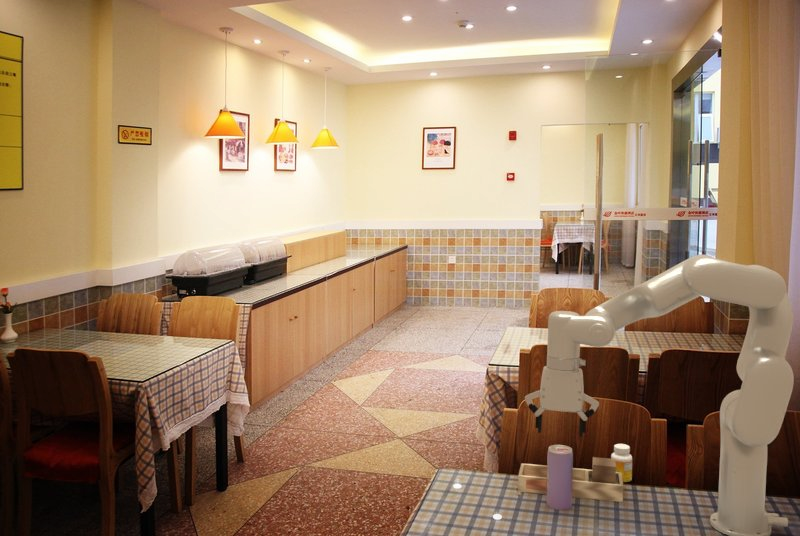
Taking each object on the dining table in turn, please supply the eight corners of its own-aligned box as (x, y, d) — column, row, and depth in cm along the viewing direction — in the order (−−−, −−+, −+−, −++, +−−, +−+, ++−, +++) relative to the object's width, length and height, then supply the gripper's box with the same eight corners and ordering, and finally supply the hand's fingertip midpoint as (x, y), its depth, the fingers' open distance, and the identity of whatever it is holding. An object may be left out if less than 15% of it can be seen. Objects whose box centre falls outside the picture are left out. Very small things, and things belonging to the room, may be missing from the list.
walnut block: (614, 489, 180) (615, 459, 180) (615, 498, 175) (616, 466, 174) (591, 487, 182) (592, 457, 181) (592, 495, 176) (592, 464, 176)
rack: (620, 491, 182) (621, 472, 181) (622, 506, 173) (623, 486, 172) (521, 481, 188) (521, 463, 188) (517, 495, 179) (518, 476, 179)
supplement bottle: (606, 479, 189) (606, 444, 188) (621, 476, 191) (622, 441, 190) (620, 487, 184) (621, 451, 183) (636, 483, 187) (637, 447, 186)
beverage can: (572, 515, 168) (573, 453, 167) (546, 512, 169) (547, 452, 168) (571, 504, 174) (572, 445, 172) (546, 502, 175) (547, 443, 174)
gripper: (600, 362, 169) (597, 431, 171) (527, 357, 174) (524, 425, 175) (601, 369, 162) (597, 442, 164) (524, 364, 167) (522, 434, 168)
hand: (560, 433), depth 170 cm, fingers open, 9 cm apart
